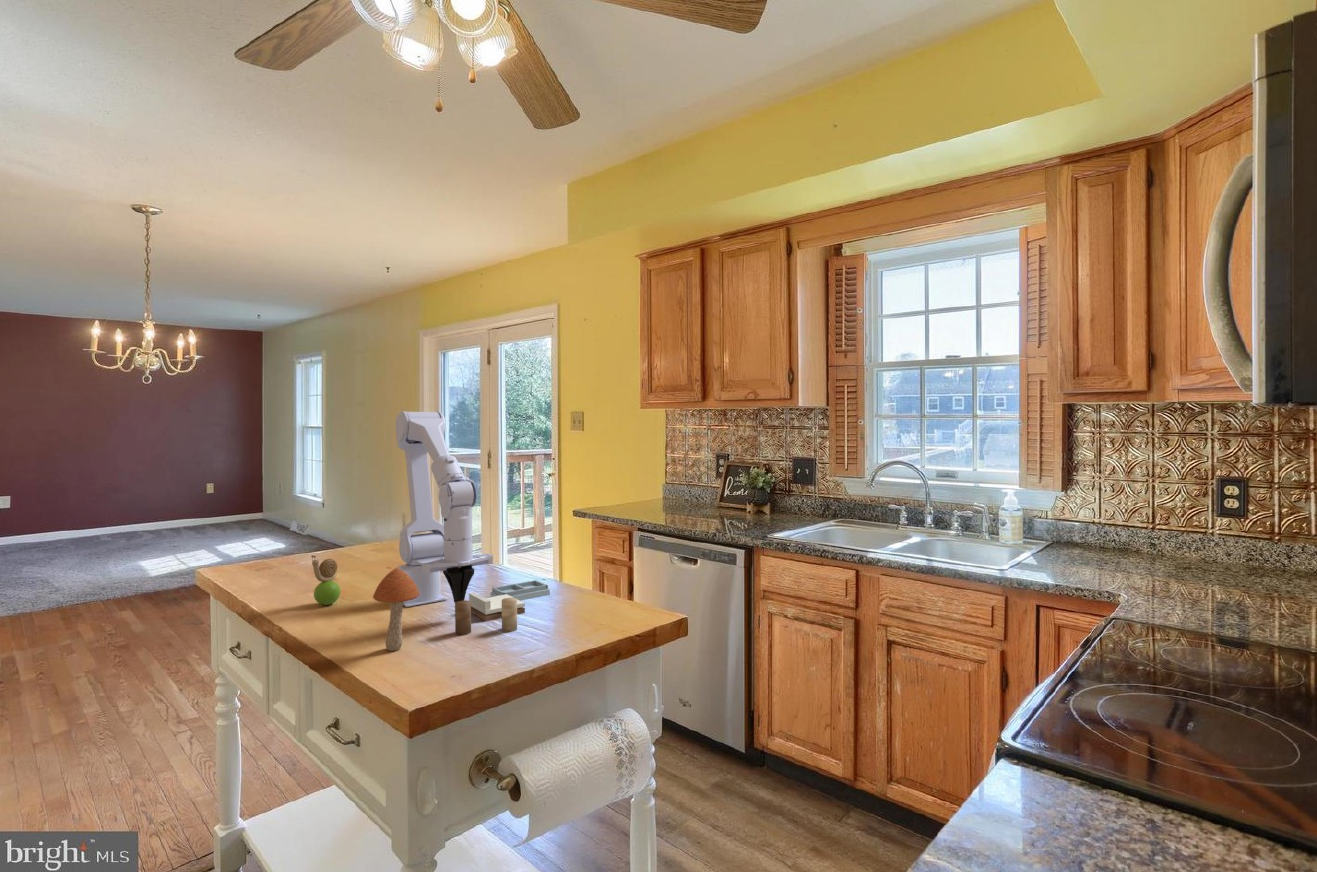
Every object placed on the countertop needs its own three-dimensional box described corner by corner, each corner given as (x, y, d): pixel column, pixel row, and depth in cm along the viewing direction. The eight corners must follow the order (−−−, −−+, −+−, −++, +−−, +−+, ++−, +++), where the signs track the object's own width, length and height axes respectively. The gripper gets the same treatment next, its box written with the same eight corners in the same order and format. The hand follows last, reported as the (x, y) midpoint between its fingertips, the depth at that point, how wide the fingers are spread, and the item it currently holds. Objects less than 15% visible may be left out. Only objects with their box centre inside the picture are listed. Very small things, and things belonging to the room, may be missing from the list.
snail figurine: (304, 607, 145) (303, 554, 144) (328, 600, 151) (328, 549, 150) (322, 610, 143) (321, 556, 142) (346, 602, 149) (345, 550, 148)
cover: (485, 614, 135) (485, 602, 135) (468, 604, 142) (468, 593, 142) (524, 606, 141) (524, 594, 141) (506, 597, 148) (506, 586, 148)
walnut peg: (458, 636, 126) (458, 605, 126) (453, 632, 128) (452, 602, 128) (473, 632, 128) (473, 602, 127) (467, 629, 130) (467, 599, 130)
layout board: (485, 620, 135) (485, 615, 135) (468, 610, 142) (468, 606, 142) (524, 612, 141) (524, 607, 141) (506, 603, 148) (506, 598, 148)
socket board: (503, 603, 148) (503, 593, 148) (490, 596, 153) (490, 587, 153) (549, 594, 155) (549, 585, 155) (535, 588, 161) (535, 579, 161)
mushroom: (429, 643, 121) (428, 564, 121) (399, 658, 114) (398, 574, 113) (395, 639, 124) (394, 561, 124) (363, 653, 116) (362, 571, 116)
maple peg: (505, 632, 128) (505, 602, 127) (499, 628, 130) (499, 599, 130) (519, 629, 129) (519, 600, 129) (513, 625, 132) (512, 596, 132)
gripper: (430, 545, 128) (431, 613, 128) (498, 536, 137) (499, 600, 137) (418, 540, 133) (419, 605, 134) (484, 532, 142) (485, 593, 143)
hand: (458, 602), depth 136 cm, fingers closed
